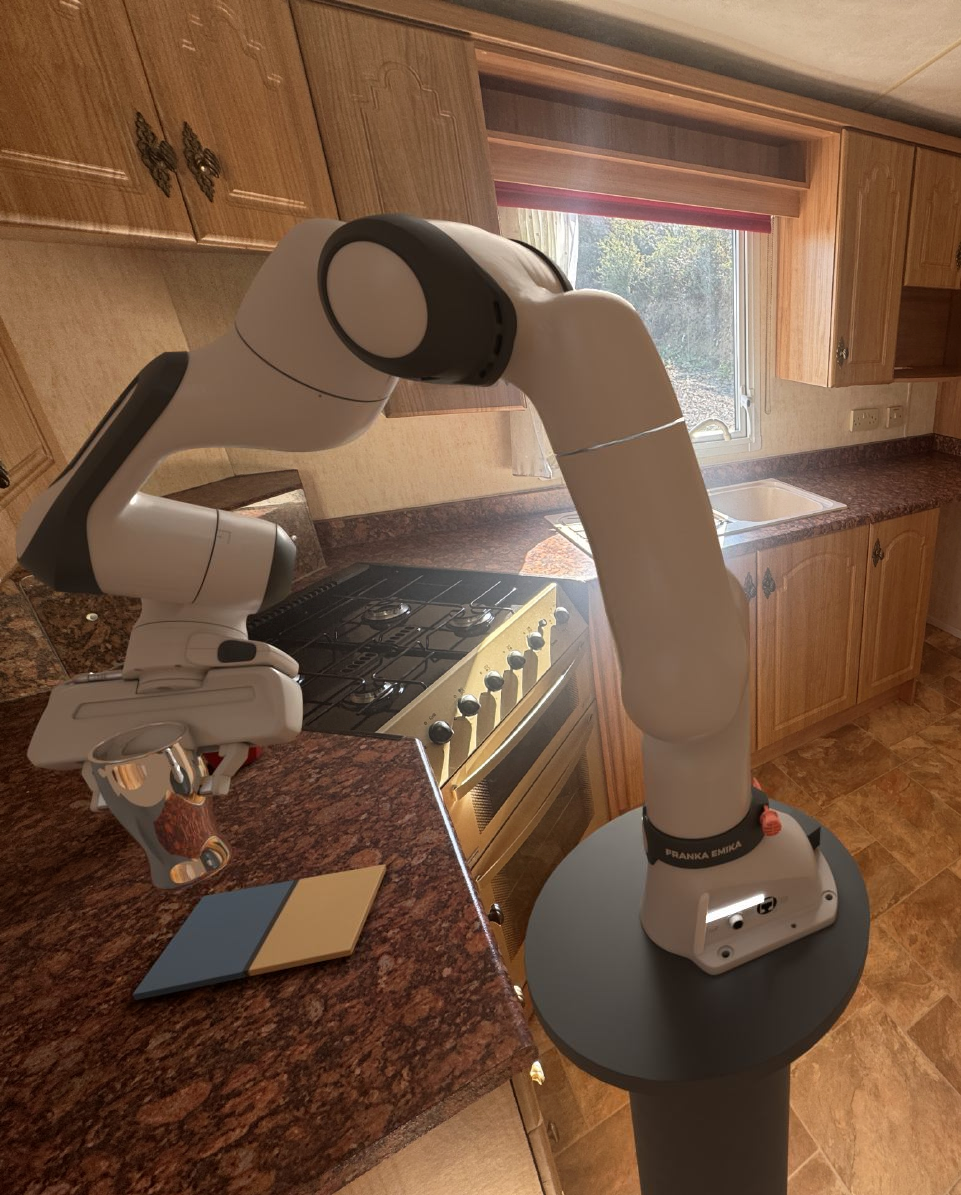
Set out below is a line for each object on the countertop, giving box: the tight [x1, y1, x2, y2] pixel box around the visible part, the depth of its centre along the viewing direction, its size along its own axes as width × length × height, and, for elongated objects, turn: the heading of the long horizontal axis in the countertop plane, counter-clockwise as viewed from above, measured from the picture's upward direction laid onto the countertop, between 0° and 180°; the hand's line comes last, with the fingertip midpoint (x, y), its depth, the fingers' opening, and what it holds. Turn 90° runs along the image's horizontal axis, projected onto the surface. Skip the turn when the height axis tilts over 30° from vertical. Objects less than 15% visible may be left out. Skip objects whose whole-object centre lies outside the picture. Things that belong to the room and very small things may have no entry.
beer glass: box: [87, 721, 234, 891], centre depth 60 cm, size 7×7×15 cm
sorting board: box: [131, 863, 387, 1001], centre depth 67 cm, size 18×12×1 cm, turn 106°
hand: (161, 803), depth 59 cm, fingers closed on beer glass, 7 cm apart
